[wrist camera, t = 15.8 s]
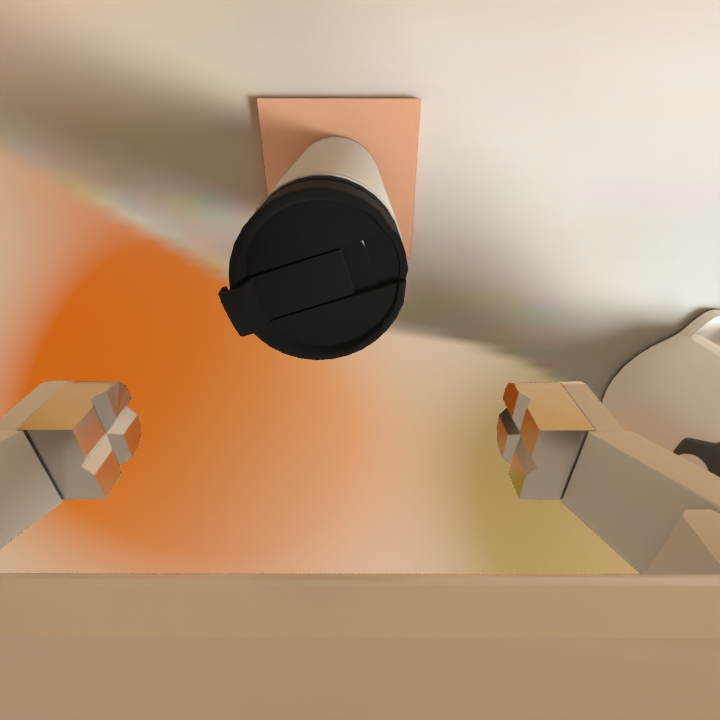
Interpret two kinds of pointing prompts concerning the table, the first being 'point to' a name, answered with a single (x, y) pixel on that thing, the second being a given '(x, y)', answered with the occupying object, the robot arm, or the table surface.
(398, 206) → the terracotta tile
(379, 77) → the table surface
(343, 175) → the travel mug
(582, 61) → the table surface
